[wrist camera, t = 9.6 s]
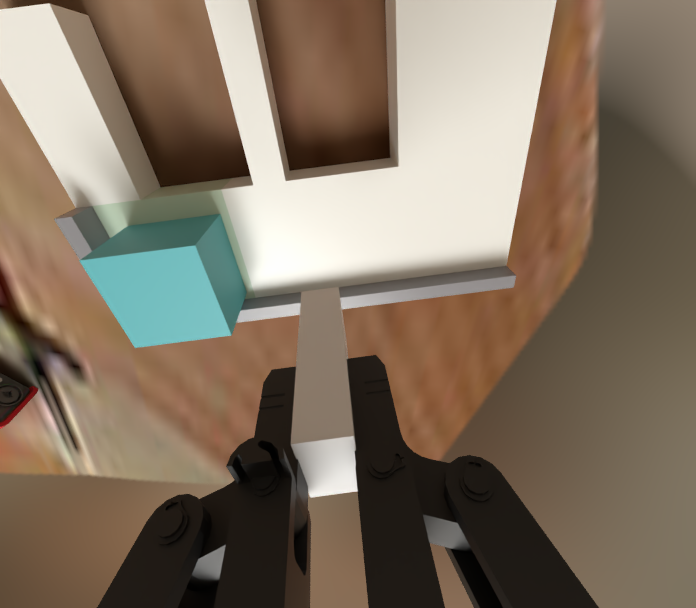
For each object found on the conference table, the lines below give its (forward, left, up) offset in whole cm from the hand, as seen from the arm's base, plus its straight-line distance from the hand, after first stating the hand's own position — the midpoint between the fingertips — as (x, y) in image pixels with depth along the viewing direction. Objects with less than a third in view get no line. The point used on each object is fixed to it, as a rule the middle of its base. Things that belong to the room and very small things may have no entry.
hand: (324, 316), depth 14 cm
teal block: (+1, -9, -10) cm, 14 cm away
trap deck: (-3, -1, -13) cm, 13 cm away
